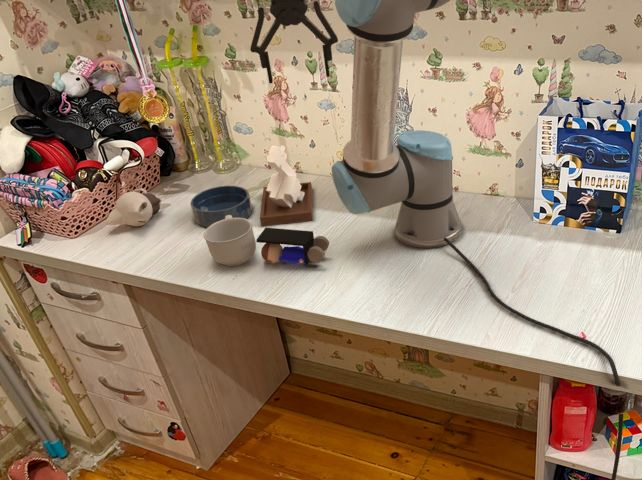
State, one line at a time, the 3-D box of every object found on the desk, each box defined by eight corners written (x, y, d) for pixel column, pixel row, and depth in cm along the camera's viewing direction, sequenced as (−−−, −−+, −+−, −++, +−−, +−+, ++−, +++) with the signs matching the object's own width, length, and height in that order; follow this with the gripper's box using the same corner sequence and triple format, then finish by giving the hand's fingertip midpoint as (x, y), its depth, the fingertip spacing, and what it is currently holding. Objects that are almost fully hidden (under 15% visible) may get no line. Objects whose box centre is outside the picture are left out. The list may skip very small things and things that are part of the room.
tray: (312, 220, 172) (311, 212, 170) (261, 226, 171) (259, 217, 170) (312, 189, 186) (311, 181, 184) (265, 195, 185) (263, 187, 184)
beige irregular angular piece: (315, 171, 180) (289, 140, 166) (300, 213, 178) (272, 184, 164) (292, 168, 183) (264, 136, 169) (277, 209, 181) (247, 180, 167)
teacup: (254, 270, 155) (247, 238, 150) (206, 273, 156) (197, 241, 151) (263, 239, 166) (257, 208, 161) (219, 242, 167) (211, 211, 162)
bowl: (250, 224, 173) (246, 208, 170) (191, 231, 172) (186, 214, 169) (253, 198, 184) (250, 182, 181) (198, 204, 184) (194, 189, 181)
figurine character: (330, 260, 159) (267, 252, 160) (330, 231, 154) (264, 223, 156) (323, 276, 154) (258, 267, 155) (322, 246, 149) (255, 238, 151)
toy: (144, 224, 187) (106, 239, 174) (128, 192, 184) (89, 206, 172) (180, 210, 181) (143, 225, 168) (165, 177, 178) (127, 190, 166)
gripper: (339, -30, 156) (350, 67, 170) (228, -18, 155) (247, 79, 168) (342, -24, 151) (352, 76, 164) (226, -12, 149) (246, 89, 162)
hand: (299, 78), depth 166 cm, fingers open, 13 cm apart
